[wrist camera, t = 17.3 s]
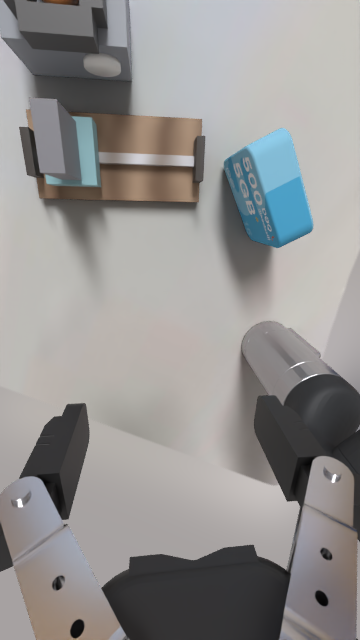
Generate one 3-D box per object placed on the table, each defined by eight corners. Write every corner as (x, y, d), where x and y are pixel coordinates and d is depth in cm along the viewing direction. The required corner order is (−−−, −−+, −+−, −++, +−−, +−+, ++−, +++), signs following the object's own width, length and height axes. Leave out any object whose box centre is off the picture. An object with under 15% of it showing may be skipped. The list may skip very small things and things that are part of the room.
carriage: (96, 124, 34) (76, 93, 25) (101, 187, 37) (84, 179, 28) (46, 122, 34) (6, 89, 24) (54, 185, 36) (21, 177, 27)
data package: (221, 162, 40) (248, 144, 29) (249, 147, 39) (289, 122, 28) (248, 240, 44) (281, 250, 33) (275, 227, 44) (317, 233, 33)
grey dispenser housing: (129, -1, 32) (119, -98, 22) (132, 88, 35) (124, 39, 25) (21, -11, 31) (-41, -118, 21) (34, 81, 34) (-15, 27, 24)
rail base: (200, 122, 38) (206, 111, 33) (196, 202, 41) (202, 201, 37) (30, 113, 35) (14, 100, 31) (43, 198, 39) (30, 197, 35)
